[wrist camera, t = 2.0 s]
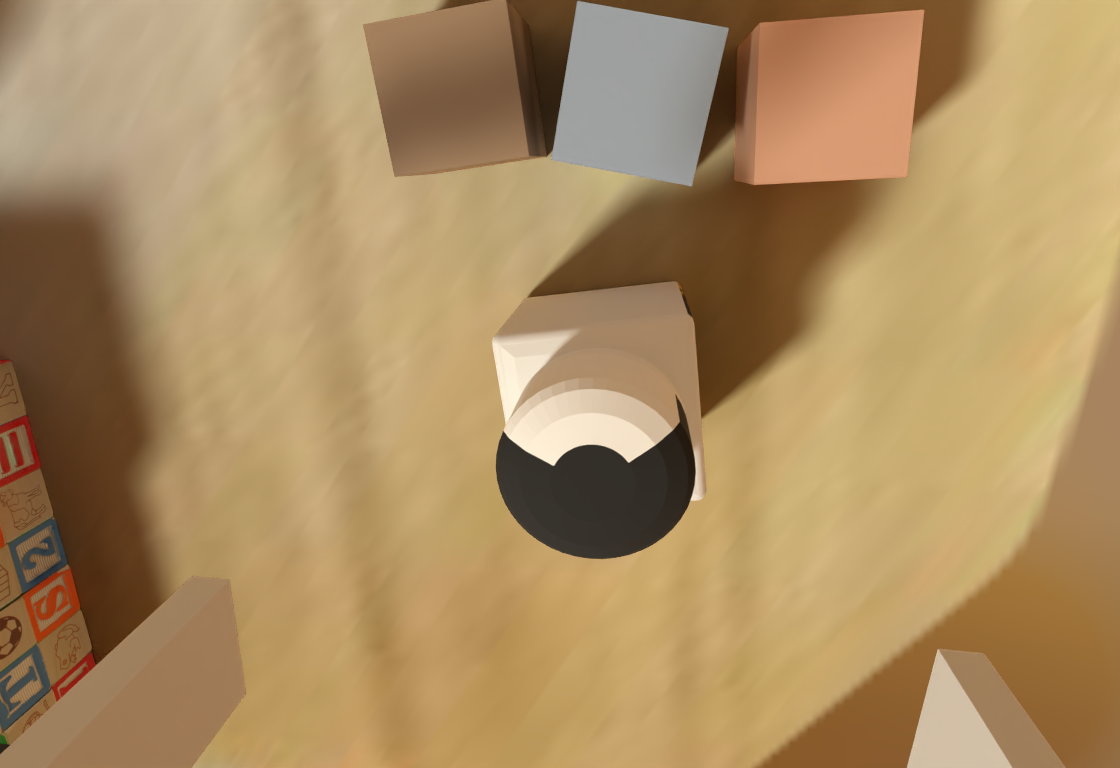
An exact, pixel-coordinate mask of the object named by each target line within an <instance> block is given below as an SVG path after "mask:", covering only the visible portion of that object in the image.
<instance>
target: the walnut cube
mask: <svg viewBox="0 0 1120 768" xmlns="http://www.w3.org/2000/svg"><path fill="white" fill-rule="evenodd" d="M363 27H364V31H365V36H366V41H367V46H368V51H369V56H370V60H371V65H372V70H373V75H374V80H375V84H376V89H377V94H378V99H379V104H380V108H381V113H382V118H383V123H384V128H385V132H386V137H387V142H388V147H389V152H390V157H391V161H392V166H393V171H394V176H395V177H398V176H412V175H425V174H436V173H443V172H449V171H456V170H462V169H469V168H475V167H482V166H489V165H495V164H502V163H508V162H515V161H521V160H528V159H535V158H541V157H547V153H546V146H545V139H544V131H543V124H542V117H541V110H540V103H539V96H538V88H537V81H536V74H535V67H534V60H533V53H532V45H531V38H530V31H529V25H528V24H527V23H526V22H525V20H524V19H523V18H522V17H521V16H520V14H519V13H518V12H517V11H516V9H515V8H514V7H513V6H512V5H511V3H510V2H509V1H508V0H490V1H485V2H479V3H474V4H469V5H463V6H458V7H453V8H448V9H442V10H437V11H432V12H427V13H421V14H416V15H411V16H406V17H400V18H395V19H390V20H385V21H379V22H374V23H369V24H364V25H363Z"/></svg>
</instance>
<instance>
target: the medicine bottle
mask: <svg viewBox="0 0 1120 768" xmlns="http://www.w3.org/2000/svg"><path fill="white" fill-rule="evenodd" d="M492 345H493V351H494V357H495V363H496V369H497V375H498V381H499V386H500V392H501V398H502V404H503V410H504V416H505V422H506V426H505V428H504V430H503V433H502V436H501V439H500V441H499V445H498V450H497V455H496V473H497V481H498V485H499V489H500V492H501V495H502V497H503V499H504V502H505V504H506V506H507V507H508V509H509V511H510V512H511V514H512V515H513V517H514V518H515V519H516V520H517V522H518V523H519V524H520V525H521V526H522V527H523V528H524V529H525V530H526V531H527V532H528V533H529V534H530V535H532V536H533V537H534V538H536V539H537V540H538V541H540V542H542V543H543V544H545V545H547V546H549V547H551V548H553V549H555V550H558V551H560V552H562V553H566V554H569V555H573V556H577V557H583V558H591V559H607V558H617V557H621V556H626V555H630V554H633V553H636V552H638V551H641V550H643V549H645V548H647V547H649V546H651V545H653V544H654V543H656V542H657V541H659V540H660V539H662V538H663V537H664V536H665V535H666V534H667V533H669V532H670V531H671V530H672V529H673V528H674V526H675V525H676V524H677V523H678V522H679V520H680V519H681V518H682V516H683V514H684V513H685V511H686V509H687V507H688V505H689V502H690V501H697V500H701V499H702V498H703V497H704V496H705V494H706V490H707V489H706V476H705V462H704V448H703V435H702V421H701V408H700V394H699V381H698V367H697V353H696V340H695V326H694V321H693V318H692V315H691V312H690V310H689V307H688V304H687V301H686V298H685V296H684V293H683V290H682V287H681V285H680V284H679V283H678V282H674V281H670V282H661V283H653V284H644V285H635V286H626V287H617V288H609V289H600V290H591V291H582V292H573V293H565V294H556V295H547V296H538V297H529V298H526V299H524V300H523V301H522V303H521V304H520V305H519V306H518V308H517V309H516V310H515V311H514V313H513V314H512V315H511V316H510V318H509V319H508V320H507V321H506V323H505V324H504V325H503V326H502V328H501V329H500V330H499V331H498V333H497V334H496V335H495V336H494V338H493V341H492Z"/></svg>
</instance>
